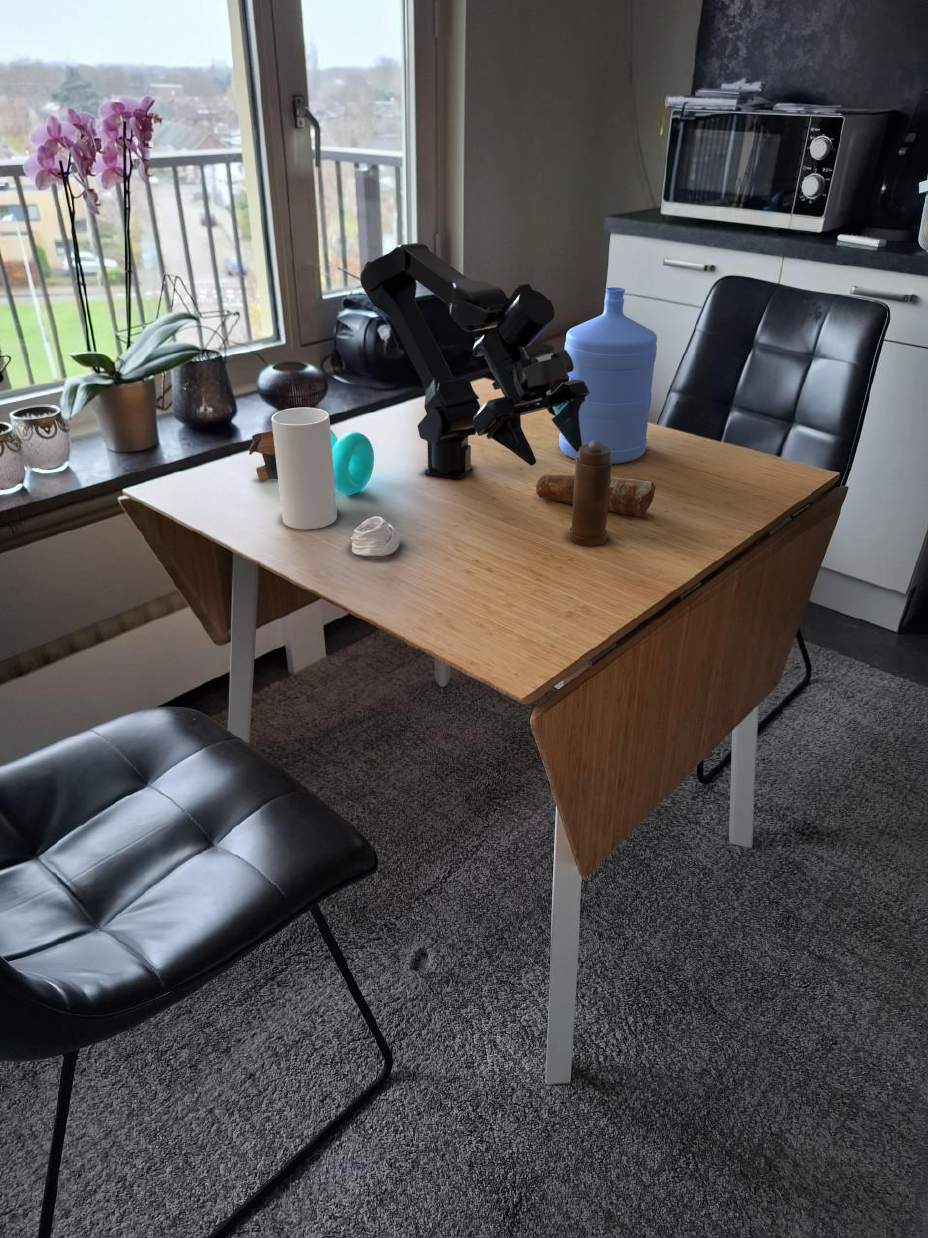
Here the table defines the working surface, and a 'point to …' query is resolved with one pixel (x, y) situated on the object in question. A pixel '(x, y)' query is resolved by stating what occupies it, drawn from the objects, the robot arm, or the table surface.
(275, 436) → the cup
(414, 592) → the table surface
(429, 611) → the table surface
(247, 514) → the table surface
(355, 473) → the donuts
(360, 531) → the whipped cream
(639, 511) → the brown cylinder
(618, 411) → the water jug
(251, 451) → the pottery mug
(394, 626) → the table surface
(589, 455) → the pepper mill
